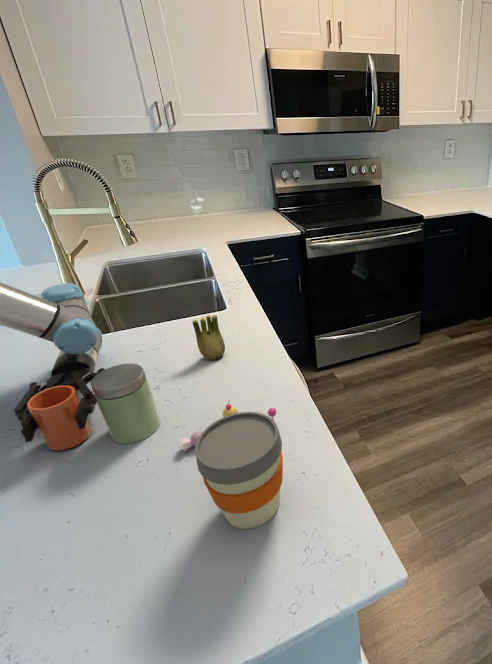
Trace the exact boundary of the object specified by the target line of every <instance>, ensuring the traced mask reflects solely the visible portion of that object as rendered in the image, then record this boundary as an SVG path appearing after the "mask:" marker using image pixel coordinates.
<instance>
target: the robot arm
mask: <svg viewBox="0 0 492 664" xmlns="http://www.w3.org/2000/svg"><path fill="white" fill-rule="evenodd" d="M40 296H41V297H40ZM40 296H38V295H35V294H32V293H30V292H27V291H24V290H21V289H19V288H18V287H17V288H16V287H14V286H11V285H9V284H6V283H3V282H1V281H0V326H2V327H6V328H9V329H12V330H15V331H18V332H20V333H24V334H27V335H30V336H33V337H37V338H39V339H42V340H46V341H48V342H52V343H53V344H54V346H55V347H57V349H58V350H59V352H58V354H57V358H56V360H55V362H54V365H53V366H52V369H51V372H50V377H48V378H47V379H46V382H42V383H38V382H37V381H33V382H31V383H30V384H29V389H28V390H27V391H26V393H25V394H24V395H23V397H22V398H21V399H20V401H19V402H18V403H17V404H16V406H15V407H14V409H13V412H14V415H15V416H16V418H17V420H18V421H19V422H20V425H21V426H22V427H21V430H20V432H21V434H22V436H23V438H24V441H25V442H26V443H30V442H32V441H33V439H34V437H35V434H36V432H37V430H38V427H37V425H36V423H35V421H34V419H33V417H32V415H31V413H30V411H29V410H28V408H27V402H28V401H29V400H30V399H31V398H32V397H33V396H34V395H36V394H37V393H39V392H41V391H43V390H45V389H48V388H52V387H55V386H62V385H67V386H72V387H73V388H75V391H76V392H77V391H78V392H79V393H80V394H81V395H82V397H80V398H79V400H80V403H79V406H78V410H77V413H76V417H75V419H76V421H77V423H78V426H79V428H80V429H83V428H85V425H86V421H87V419H88V416H89V415H90V414H93V413H94V411H95V406H96V405H98V403H97V401H96V398H95V396H94V393H93V390H91V389H90V388H89V386H88V384H89V383H91V381H92V379H93V378H94V377H95V376H96V375H97V374H98V373H100V372H101V371H103V370H105V369H106V368H104V367H102V368H99V369H97V371H95V369H96V365H97V361H98V357H99V353H100V350H101V349H102V346H103V344H102V343H103V333H102V332H101V330H100V328H98V327H97V325H96V324H95V322H94V320H93V317H92V314H91V312H90V310H89V307H88V305H87V302H86V299H85V295H84V294H83V292H82V289H81V287H80V286H79V285H78V284H75V283H71V282H70V283H69V282H67V283H59V284H55V285H52V286H50V287H47V288H44V289H43V290H42V292H41V295H40Z"/></svg>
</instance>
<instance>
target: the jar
mask: <svg viewBox="0 0 492 664" xmlns="http://www.w3.org/2000/svg"><path fill="white" fill-rule="evenodd" d="M145 377H146V379H145V382H144V384H143V385H142V386H141V387H140V388H138V389H137V390H136V391H134V392H132V393H130V394H128V395H125V396H122V397H118V398H113V399H102V398H99V397H96V395H95V394H94V393H93V394H94V396H95V398H96V401H97V405H98V408H99V410H100V413H101V415H102V418H103V420H104V422H105V425H106V427H107V429H108V432H109V434H110V437H111V439H112V440H113V441H114V442H115V443H116V444H120V445H130V444H135V443H139V442H142V441H143V440H145V439H147V438H149V437H151V436H152V435H153V434H154V433H156V431H157V430H158V429H159V428H160V426H161V417H160V416H159V415H160V414H159V412H158V409H157V406H156V403H155V400H154V397H153V393H152V391H151V388H150V384H149V381H148V379H147V376H146V375H145Z"/></svg>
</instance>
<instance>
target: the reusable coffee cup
mask: <svg viewBox="0 0 492 664" xmlns="http://www.w3.org/2000/svg"><path fill="white" fill-rule="evenodd" d="M201 432H202V433H201V435H200V436H199V438H198V440H197V443H196V447H195V446H194V447H195V449H194V451H195V460H196V466H197V470H198V472H199V473H200V476H202V479H203V483H204V485H205V488H206V489H207V491H208V493H209V495H210V497H211V499H212V500H213V502H214V504H215V506H216V507H218V509H220V510H221V512H222V513H223V515H224V517H225V519H226V521H227V522H228V523H229V524H230V525H231V526H232V527H234V528H236V529H240V530H249V529H254V528H257V527H260V526H262V525H264V524H265V523H267V522H268V521H270V520H271V519H272V518H273V517H274V516H275V514H276V513H277V511H278V510H279V506H280V501H281V487H282V484H283V477H284V475H283V473H284V472H283V471H284V470H283V467H284V466H283V465H284V464H283V463H284V462H283V461H284V459H283V453H282V448H283V441H282V440H283V439H282V437H281V434H280V431H279V427H278V425H277V423H276V421H275V419H274V420H273V419H272V417H271V416H269V415H268V414H265V413H262V412H257V411H241V412H237V413H235V414H231V415H228V416H225V417H223V416H222V417H221V418H219V419H217V420H215V421H214V422H212V423H211V424H209V425H208V426H207V427H206V428H205V429H204V430H202V431H201Z"/></svg>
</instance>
